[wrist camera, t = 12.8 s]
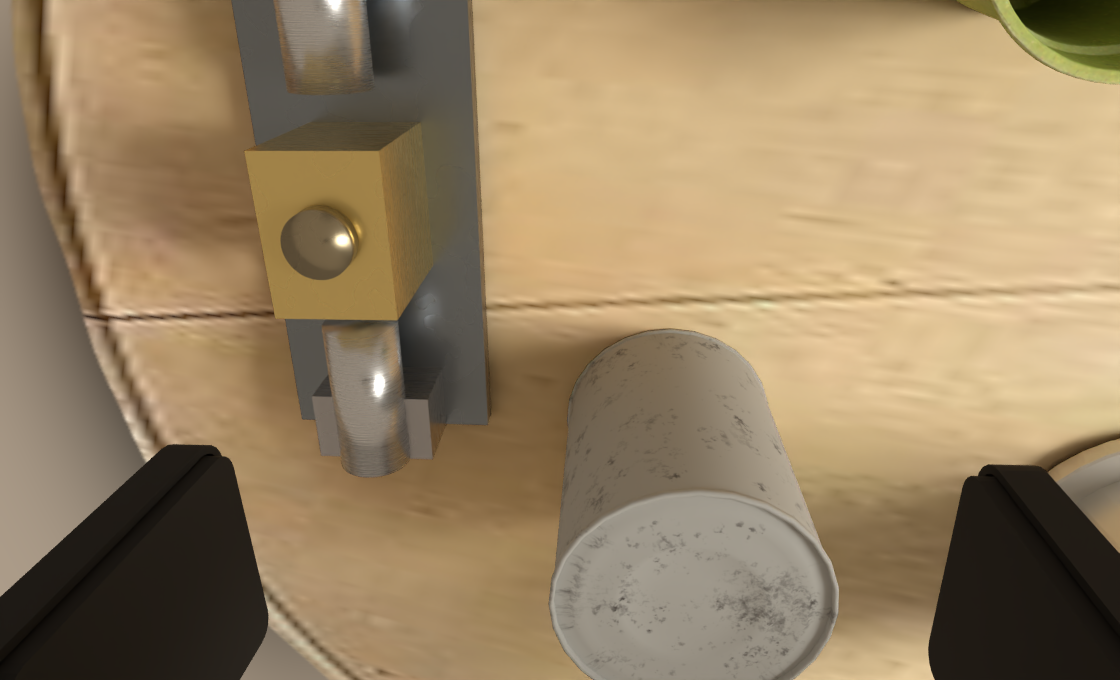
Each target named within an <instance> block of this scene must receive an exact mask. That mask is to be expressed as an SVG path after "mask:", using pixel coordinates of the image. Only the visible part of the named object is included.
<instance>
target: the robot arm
mask: <svg viewBox="0 0 1120 680" xmlns="http://www.w3.org/2000/svg"><path fill="white" fill-rule="evenodd" d="M267 626H268V609H267V605H266V601H265V597H264V593H263V588H262V584H261V580H260V576H259V572H258V567H257V563H256V559H255V555H254V551H253V546H252V542H251V538H250V534H249V530H248V526H247V521H246V517H245V513H244V509H243V505H242V500H241V496H240V492H239V488H238V484H237V479H236V475H235V471H234V467H233V464H232V462H231V461H230V459H229V458H227V457H223V456H222V455H221V453H220V452H219V450H218V449H217V448H216V447H214V446H212V445H177V444H173V445H167V446H166V447H164V448H162V449H161V450H160V451H159V452H158V453H157V454H156V455H155V456H153V457H152V458H151V459H150V460H149V461H148V462H147V463H146V464H145V465H144V466H143V467H142V468H140V469H139V470H138V471H137V472H136V473H135V474H134V475H133V476H132V477H131V478H129V480H127V481H126V482H125V483H124V484H123V485H122V486H121V487H120V488H119V489H118V490H117V491H115V492H114V493H113V494H112V495H111V496H110V497H109V498H108V499H107V500H106V501H104V502H103V503H102V504H101V505H100V506H99V507H98V508H97V509H96V510H95V511H94V512H93V513H91V514H90V515H89V516H88V517H87V518H86V519H85V520H84V521H83V522H82V523H80V524H79V525H78V526H77V527H76V528H75V529H74V530H73V531H72V532H71V533H70V534H68V535H67V536H66V537H65V538H64V539H63V540H62V541H61V542H60V543H59V544H58V545H57V546H55V547H54V548H53V549H52V550H51V551H50V552H49V553H48V554H47V555H46V556H44V557H43V558H42V559H41V560H40V561H39V562H38V563H37V564H36V565H35V566H34V567H32V569H30V570H29V571H28V572H27V573H26V574H25V575H24V576H23V577H22V578H20V579H19V580H18V581H17V582H16V583H15V584H14V585H13V586H12V587H11V588H10V589H8V590H7V591H6V592H5V593H4V594H3V595H2V596H1V597H0V680H240V678H241V677H242V675H243V673H244V672H245V670H246V668H247V667H248V665H249V663H250V662H251V660H252V658H253V657H254V655H255V653H256V652H257V650H258V648H259V647H260V645H261V643H262V641H263V639H264V637H265V634H266V631H267ZM928 653H929V663H930V667H931V671H932V674H933V677H934V679H935V680H1120V439H1117V440H1113V441H1109V442H1106V443H1103V444H1101V445H1098V446H1095V447H1093V448H1090V449H1088V450H1085V451H1082V452H1080V453H1079V454H1077V455H1075V456H1073V457H1071V458H1069V459H1067V460H1066V461H1064V462H1062V463H1060V464H1058V465H1057V466H1055V467H1054V468H1053V469H1051V470H1050V471H1049V472H1046V471H1045V470H1044V469H1043V468H1041V467H1039V466H1029V465H986V466H984V467H983V468H982V469H981V471H980V472H979V475H978V476H970V477H968V478H967V479H966V480H965V482H964V485H963V488H962V493H961V497H960V502H959V507H958V511H957V516H956V520H955V525H954V529H953V534H952V539H951V543H950V548H949V552H948V557H947V562H946V566H945V571H944V575H943V580H942V585H941V589H940V594H939V598H938V603H937V608H936V612H935V617H934V621H933V626H932V630H931V635H930V640H929V647H928Z"/></svg>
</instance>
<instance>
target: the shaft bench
mask: <svg viewBox="0 0 1120 680" xmlns="http://www.w3.org/2000/svg"><path fill="white" fill-rule="evenodd" d="M231 1H232V7H233V13H234V19H235V24H236V30H237V36H238V42H239V48H240V54H241V60H242V66H243V72H244V78H245V84H246V90H247V96H248V101H249V107H250V113H251V119H252V125H253V131H254V137H255V143H256V146H257V145H259V144H261V143H264V142H266V141H268V140H270V139H273V138H275V137H277V136H280V135H282V134H284V133H287V132H289V131H291V130H293V129H296V128H298V127H300V126H303V125H305V124H307V123H310V122H421V130H422V141H423V153H424V165H425V176H426V188H427V199H428V211H429V222H430V234H431V246H432V257H433V266H432V268H431V269H430V271H429V272H428V274H427V276H426V277H425V279H424V280H423V282H422V283H421V285H420V286H419V288H418V290H417V291H416V293H415V294H414V296H413V297H412V299H411V300H410V302H409V303H408V305H407V307H406V308H405V310H404V311H403V313H402V314H401V316H400V317H399V319H398V320H336V319H285V321H286V327H287V332H288V338H289V344H290V350H291V356H292V362H293V368H294V374H295V380H296V386H297V392H298V398H299V404H300V410H301V415H302V419H307V420H316V426H317V432H318V439H319V445H320V451H321V456H341V462H342V466H343V468H344V469H345V471H347V472H348V473H350V474H352V475H355V476H359V477H379V476H384V475H388V474H391V473H393V472H396V471H398V470H399V469H401V468H402V467H404V466H405V465H406V464H407V463H408V462H409V460H410V459H433V457H434V455H435V452H436V449H437V447H438V444H439V441H440V439H441V436H442V434H443V431H444V428H445V426H446V424H469V425H488V423H489V419H490V416H491V405H490V383H489V361H488V339H487V318H486V296H485V274H484V252H483V230H482V209H481V187H480V165H479V143H478V121H477V99H476V78H475V56H474V34H473V12H472V0H231Z"/></svg>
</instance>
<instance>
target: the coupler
mask: <svg viewBox="0 0 1120 680" xmlns="http://www.w3.org/2000/svg"><path fill="white" fill-rule="evenodd" d="M244 153H245V158H246V164H247V169H248V174H249V180H250V185H251V191H252V196H253V201H254V207H255V212H256V218H257V223H258V228H259V234H260V239H261V244H262V250H263V255H264V261H265V266H266V271H267V277H268V282H269V288H270V293H271V298H272V304H273V309H274V315H275V319H336V320H398V319H399V317H400V316H401V314H402V313H403V311H404V310H405V308H406V307H407V305H408V303H409V302H410V300H411V299H412V297H413V296H414V294H415V293H416V291H417V290H418V288H419V286H420V285H421V283H422V282H423V280H424V279H425V277H426V276H427V274H428V272H429V271H430V269H431V268H432V266H433V257H432V246H431V234H430V222H429V211H428V199H427V188H426V176H425V165H424V153H423V141H422V130H421V122H310V123H307V124H305V125H303V126H300V127H298V128H296V129H293V130H291V131H289V132H287V133H284V134H282V135H280V136H277V137H275V138H273V139H270V140H268V141H266V142H264V143H261V144H259V145H257V146H254V147H252V148H250V149H247V150H245V151H244Z"/></svg>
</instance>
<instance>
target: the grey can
mask: <svg viewBox="0 0 1120 680" xmlns="http://www.w3.org/2000/svg"><path fill="white" fill-rule="evenodd" d="M567 423H568V437H567V447H566V458H565V468H564V479H563V489H562V499H561V510H560V520H559V531H558V541H557V552H556V562H555V570H554V573H553V575H552V579H551V588H550V597H549V609H550V614H551V620H552V626H553V629H554V631H555V633H556V635H557V637H558V639H559V641H560V643H561V645H562V648H563V650H564V651H565V653H566V654H567V655H568V656H569V657H570V658H571V660H572V661H573V662H574V663H575V664H576V665H577V667H578V668H579V669H580V670H581V671H582V672H583V673H585V674H586V675H587V676H589V677H590V678H591V679H593V680H793V679H795V678H796V677H797V676H798V675H800V674H801V673H802V672H803V671H804V670H805V669H806V668H807V667H808V666H809V665H810V664H811V663H812V662H814V661H815V660H816V658H817V657H818V655H819V654H820V652H821V651H822V649H823V648H824V646H825V645H826V643H827V642H828V640H829V639H830V637H831V634H832V631H833V628H834V625H835V622H836V619H837V616H838V601H839V587H838V583H837V580H836V576H835V573H834V569H833V566H832V562H831V560H830V558H829V557H828V555H827V554H826V552H825V551H824V549H823V547H822V545H821V542H820V540H819V537H818V534H817V532H816V529H815V527H814V524H813V521H812V519H811V516H810V513H809V511H808V508H807V506H806V503H805V500H804V498H803V495H802V493H801V490H800V487H799V485H798V482H797V479H796V477H795V474H794V472H793V469H792V466H791V464H790V461H789V458H788V456H787V453H786V451H785V448H784V445H783V443H782V440H781V438H780V435H779V432H778V430H777V427H776V424H775V422H774V419H773V417H772V414H771V411H770V409H769V406H768V402H767V398H766V395H765V391H764V388H763V385H762V382H761V381H760V379H759V377H758V376H757V374H756V372H755V371H754V369H753V368H752V366H751V365H750V364H749V363H748V362H747V361H746V360H745V359H744V358H743V357H742V356H741V355H740V354H739V353H738V352H737V351H736V350H735V349H733V348H731V347H730V346H728V345H726V344H724V343H723V342H721V341H719V340H718V339H716V338H713V337H710V336H707V335H704V334H701V333H698V332H695V331H686V330H677V329H664V330H653V331H646V332H643V333H639V334H636V335H633V336H630V337H626V338H624V339H622V340H620V341H619V342H617V343H615V344H613V345H611V346H610V347H608V348H606V349H605V350H603V351H602V352H601V353H600V354H599V355H598V356H597V357H595V358H594V359H593V360H592V361H591V362H590V363H589V364H588V365H587V367H586V368H585V369H584V371H583V372H582V374H581V375H580V377H579V378H578V379H577V381H576V384H575V386H574V389H573V391H572V394H571V397H570V399H569V408H568V417H567Z"/></svg>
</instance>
